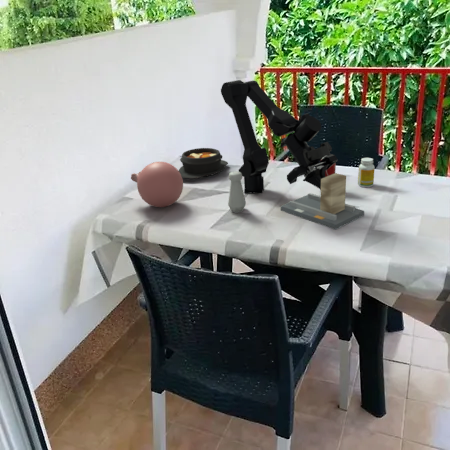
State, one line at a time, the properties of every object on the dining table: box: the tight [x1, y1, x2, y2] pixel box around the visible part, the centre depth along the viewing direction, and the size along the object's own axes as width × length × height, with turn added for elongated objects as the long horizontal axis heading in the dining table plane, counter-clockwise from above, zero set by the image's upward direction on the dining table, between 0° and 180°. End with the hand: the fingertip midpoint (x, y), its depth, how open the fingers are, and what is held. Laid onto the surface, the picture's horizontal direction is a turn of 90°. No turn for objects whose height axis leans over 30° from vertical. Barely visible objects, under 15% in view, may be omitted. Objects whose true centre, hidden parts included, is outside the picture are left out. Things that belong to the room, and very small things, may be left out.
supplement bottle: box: [357, 157, 376, 188], centre depth 178 cm, size 5×5×10 cm
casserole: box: [178, 147, 229, 180], centre depth 201 cm, size 25×19×8 cm
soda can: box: [319, 157, 337, 192], centre depth 175 cm, size 5×5×12 cm
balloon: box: [130, 161, 184, 208], centre depth 171 cm, size 15×20×15 cm
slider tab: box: [320, 172, 347, 214], centre depth 153 cm, size 4×7×11 cm, turn 131°
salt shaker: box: [227, 171, 247, 213], centre depth 163 cm, size 6×6×13 cm
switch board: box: [280, 192, 365, 230], centre depth 159 cm, size 22×14×3 cm, turn 41°
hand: (327, 191), depth 155 cm, fingers closed, pressing on slider tab
